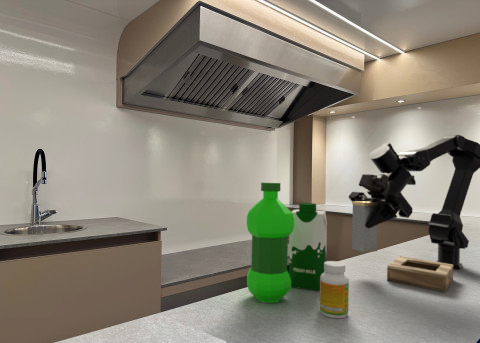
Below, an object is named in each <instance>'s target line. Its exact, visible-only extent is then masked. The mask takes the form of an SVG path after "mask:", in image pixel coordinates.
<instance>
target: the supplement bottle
mask: <svg viewBox="0 0 480 343" xmlns="http://www.w3.org/2000/svg"><path fill="white" fill-rule="evenodd" d="M324 270H325V272H324V273H322V274H321V276H320V291H319V313H320V314H322V315H323V316H324V317H327V318H329V319H330V318H331V319H344V318H346V317H348V315H349V295H350V294H349V290H350V289H349V287H350V285H349V284H350V282H349V281H350V279H349V277H348V275H347V274H345V273H346V263H344V262H341V261H336V260H326V262H324Z"/></svg>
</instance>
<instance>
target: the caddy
mask: <svg viewBox="0 0 480 343" xmlns="http://www.w3.org/2000/svg"><path fill="white" fill-rule="evenodd" d="M386 267H387V268H386V269H387V270H386V272H387V274H386V280H387V281H388V282H392V283H397V284H401V285H405V286H412V287H416V288H421V289H427V290H431V291H435V292H439V293H445V294H446V293H447V291H448V289H449V287H450V286H451V284H452V282H453V281H454V268H453V265H452V264H446V263H440V262H437V261H434V260H433V261H432V260H427V259H421V258H420V259H419V258H413V257H407V256H401V255H400V256H398V257H397V258H395V259H394V260H393V261H391V262H390V263H388V264H387V266H386Z"/></svg>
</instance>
